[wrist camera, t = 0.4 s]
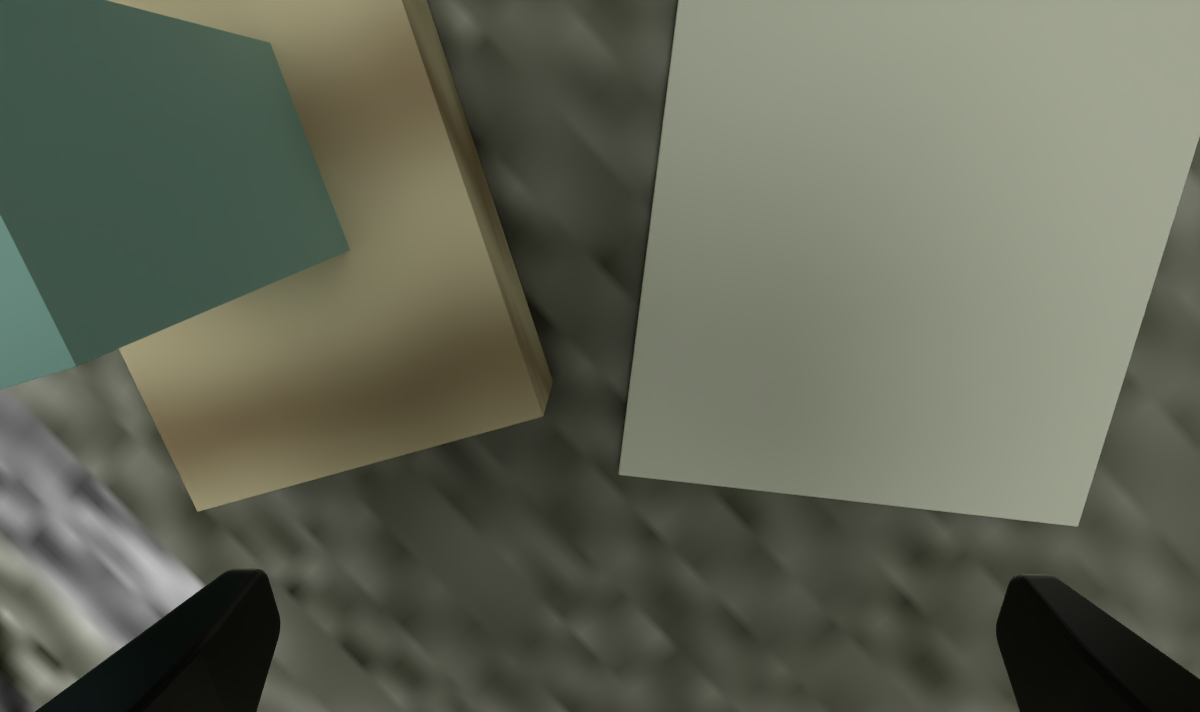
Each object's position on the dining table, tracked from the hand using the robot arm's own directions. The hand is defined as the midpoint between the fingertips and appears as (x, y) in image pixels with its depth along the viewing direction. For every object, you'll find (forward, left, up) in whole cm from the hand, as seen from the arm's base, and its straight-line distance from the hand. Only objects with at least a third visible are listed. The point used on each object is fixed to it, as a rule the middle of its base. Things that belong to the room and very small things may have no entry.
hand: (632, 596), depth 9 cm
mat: (+5, -7, -14) cm, 16 cm away
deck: (+3, +10, -14) cm, 17 cm away
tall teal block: (+3, +10, -11) cm, 15 cm away
